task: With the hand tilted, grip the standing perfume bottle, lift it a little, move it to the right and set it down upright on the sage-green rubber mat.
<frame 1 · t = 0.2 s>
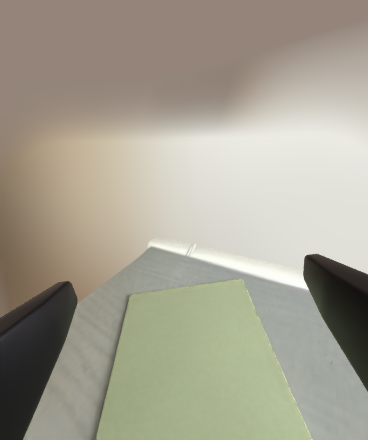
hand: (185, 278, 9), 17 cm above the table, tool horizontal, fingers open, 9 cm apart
mat: (192, 363, 23), on the table
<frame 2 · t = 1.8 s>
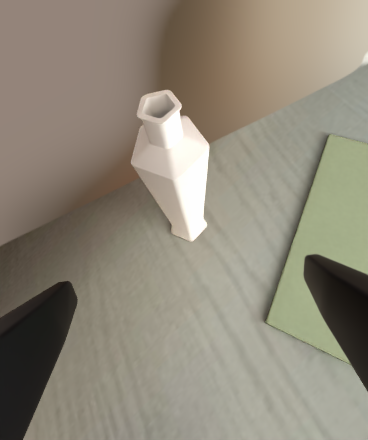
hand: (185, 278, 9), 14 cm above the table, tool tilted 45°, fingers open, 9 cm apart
perfume bottle: (186, 223, 25), on the table
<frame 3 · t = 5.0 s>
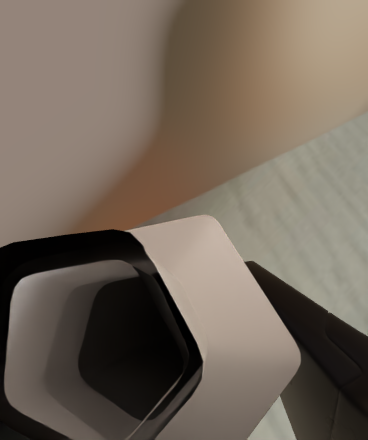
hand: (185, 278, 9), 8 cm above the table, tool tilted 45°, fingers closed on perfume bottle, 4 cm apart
perfume bottle: (198, 315, 16), on the table, touching gripper
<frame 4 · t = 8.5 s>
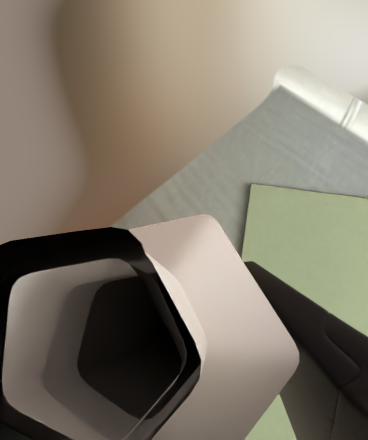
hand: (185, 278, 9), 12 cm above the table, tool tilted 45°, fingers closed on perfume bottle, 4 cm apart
mat: (337, 320, 19), on the table
perfume bottle: (198, 315, 16), point 4 cm above the table, touching gripper
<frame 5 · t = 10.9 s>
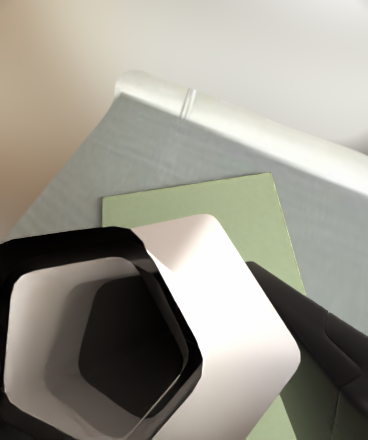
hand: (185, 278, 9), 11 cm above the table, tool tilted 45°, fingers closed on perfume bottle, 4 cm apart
mat: (200, 309, 18), on the table
perfume bottle: (198, 315, 16), point 3 cm above the table, touching gripper
when the fingers open (8 cm above the table, at t = 12.2 s): perfume bottle stays where it is, resting on mat.
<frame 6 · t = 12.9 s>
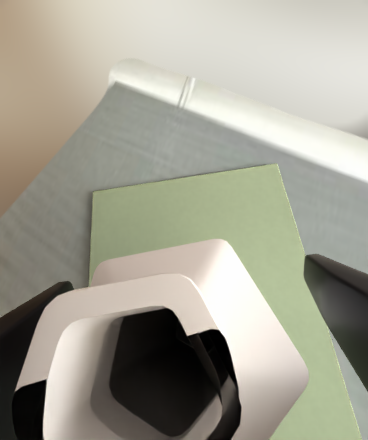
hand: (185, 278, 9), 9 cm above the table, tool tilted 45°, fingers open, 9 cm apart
mat: (199, 315, 16), on the table
perfume bottle: (199, 320, 16), resting on mat
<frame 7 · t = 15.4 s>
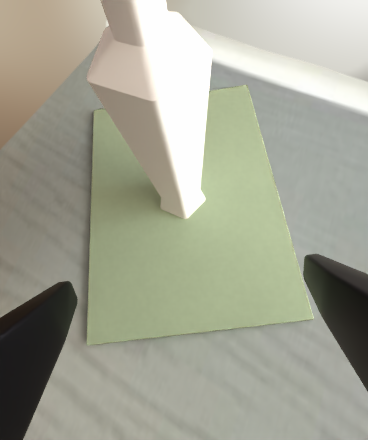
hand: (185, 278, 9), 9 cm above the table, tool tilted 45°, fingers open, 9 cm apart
mat: (181, 194, 21), on the table
perfume bottle: (180, 196, 20), resting on mat
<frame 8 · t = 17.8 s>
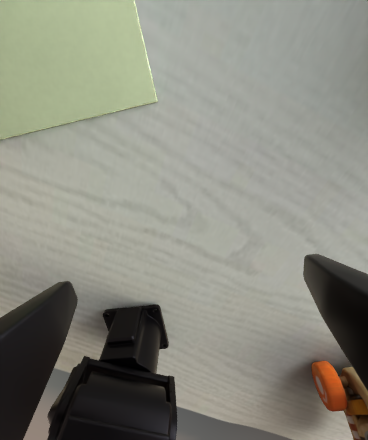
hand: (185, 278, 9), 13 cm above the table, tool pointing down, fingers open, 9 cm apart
toy helicopter: (340, 389, 32), on the table
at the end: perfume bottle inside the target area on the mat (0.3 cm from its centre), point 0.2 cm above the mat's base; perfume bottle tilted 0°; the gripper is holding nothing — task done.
